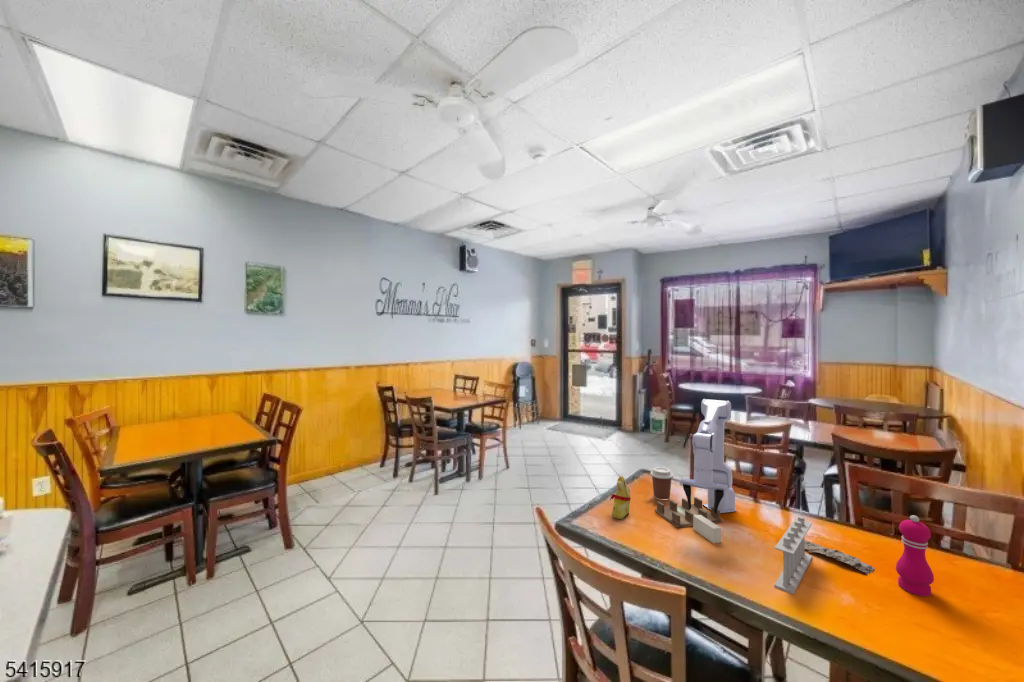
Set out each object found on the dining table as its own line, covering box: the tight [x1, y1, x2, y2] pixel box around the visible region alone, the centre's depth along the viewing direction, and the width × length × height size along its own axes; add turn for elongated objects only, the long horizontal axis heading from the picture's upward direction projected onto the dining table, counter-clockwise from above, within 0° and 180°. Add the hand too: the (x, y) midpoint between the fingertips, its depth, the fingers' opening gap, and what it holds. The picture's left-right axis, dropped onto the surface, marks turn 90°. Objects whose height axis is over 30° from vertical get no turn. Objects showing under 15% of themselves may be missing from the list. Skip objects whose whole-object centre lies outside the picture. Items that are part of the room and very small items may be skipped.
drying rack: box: [654, 496, 723, 529], centre depth 150 cm, size 19×14×4 cm
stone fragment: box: [804, 539, 875, 575], centre depth 124 cm, size 25×3×10 cm
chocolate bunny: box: [609, 475, 631, 520], centre depth 153 cm, size 7×11×15 cm, turn 141°
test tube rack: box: [773, 515, 813, 595], centre depth 115 cm, size 25×4×13 cm, turn 134°
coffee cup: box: [650, 466, 674, 500], centre depth 168 cm, size 9×9×12 cm
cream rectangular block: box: [692, 515, 722, 544], centre depth 136 cm, size 3×10×5 cm, turn 13°
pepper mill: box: [895, 514, 935, 597], centre depth 106 cm, size 7×7×20 cm
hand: (702, 510), depth 133 cm, fingers open, 7 cm apart
